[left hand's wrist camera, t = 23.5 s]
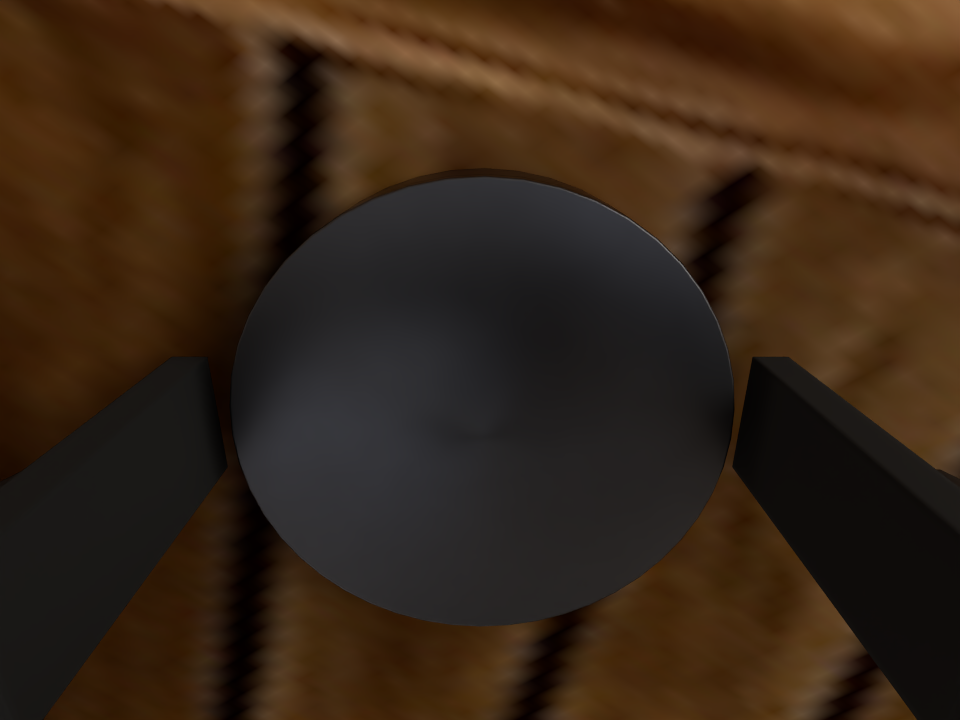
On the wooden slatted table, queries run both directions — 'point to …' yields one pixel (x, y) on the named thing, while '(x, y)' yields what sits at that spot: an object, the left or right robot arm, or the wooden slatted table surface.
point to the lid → (482, 399)
